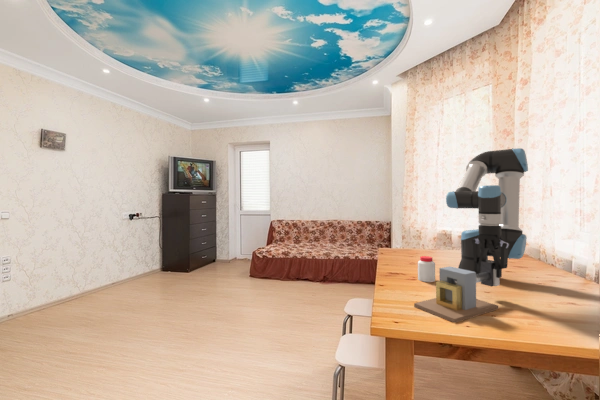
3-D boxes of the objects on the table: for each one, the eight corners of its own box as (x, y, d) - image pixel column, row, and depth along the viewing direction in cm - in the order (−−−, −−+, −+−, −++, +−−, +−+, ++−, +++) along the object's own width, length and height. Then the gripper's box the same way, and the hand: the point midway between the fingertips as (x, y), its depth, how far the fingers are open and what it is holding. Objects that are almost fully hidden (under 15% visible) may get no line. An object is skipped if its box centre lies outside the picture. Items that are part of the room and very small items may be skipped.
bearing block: (456, 295, 119) (456, 262, 119) (498, 309, 104) (498, 271, 104) (414, 306, 108) (413, 269, 108) (454, 322, 94) (454, 280, 93)
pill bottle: (437, 282, 138) (436, 259, 138) (419, 281, 139) (419, 258, 139) (433, 278, 145) (432, 255, 145) (416, 277, 147) (416, 255, 147)
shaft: (488, 282, 118) (488, 259, 118) (499, 284, 115) (498, 261, 115) (450, 291, 108) (450, 266, 108) (460, 294, 104) (460, 268, 104)
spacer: (441, 302, 109) (441, 280, 109) (462, 309, 101) (462, 286, 101) (436, 303, 107) (436, 281, 107) (456, 310, 100) (456, 287, 100)
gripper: (462, 223, 121) (463, 280, 121) (507, 226, 106) (508, 291, 106) (474, 222, 125) (474, 277, 125) (519, 225, 110) (519, 288, 110)
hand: (490, 283), depth 116 cm, fingers closed on shaft, 4 cm apart
